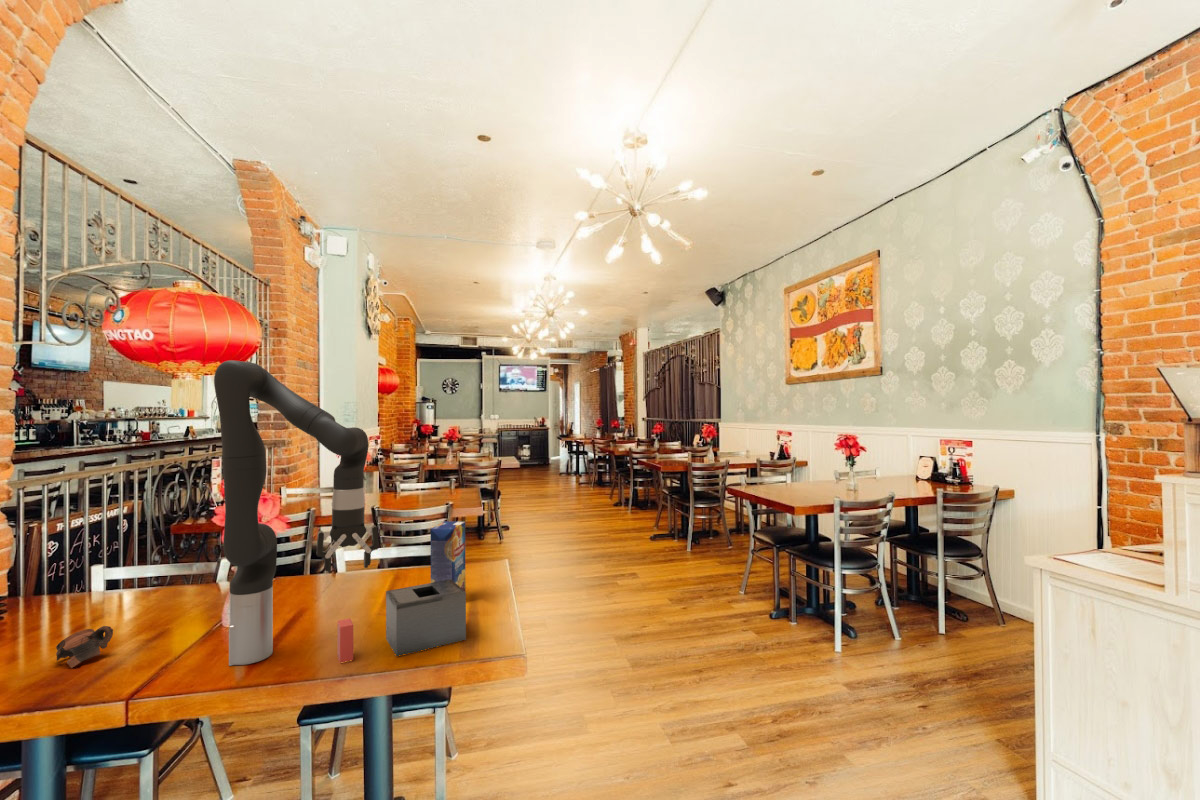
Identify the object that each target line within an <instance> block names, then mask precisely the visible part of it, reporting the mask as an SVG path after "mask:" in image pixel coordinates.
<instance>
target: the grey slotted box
mask: <svg viewBox="0 0 1200 800" xmlns="http://www.w3.org/2000/svg"><path fill="white" fill-rule="evenodd" d="M465 591H466V590H465ZM465 591H464V590H463V589H462V588H461V587H459V586H458V585H457V584H456V583H455V582H454V581H453V580H445V581H439V582H434V583H431V582H429V583H424V584H418V585H411V586H406V587H403V588H402V587H401V588H396V589H391V590H386V591H385V607H386V608H385V619H386V620H385V627H386V628H385V632H386V633H385V639H386V641H387V643H388V645H389V644H390V645H389V646H390V649H391V650H392V649H393V650H392V652H393V651H394V652H393V653H395V654H396V655H395V654H394V655H395V657H396V656H399V655H403V654H408V653H412V654H414V653H413V652H416V653H419V652H418V651H420V652H422V651H421V650H424V651H426V650H425V649H428V648H432V649H434V648H433V647H436V648H438V647H437V646H440V647H442V646H441V645H444V646H446V645H445V644H448V645H451V644H450V643H452V644H455V643H454V642H457V643H459V642H458V641H461V642H463V641H462V640H465V641H467V601H466V600H467V592H465ZM428 650H429V649H428ZM408 655H409V654H408Z"/></svg>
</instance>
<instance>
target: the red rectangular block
mask: <svg viewBox="0 0 1200 800" xmlns="http://www.w3.org/2000/svg"><path fill="white" fill-rule="evenodd" d="M337 660H338V662H339V661H340V662H339V664H340V663H341V662H345V661H350V660H353V661H354V623H353V621H352V619H351V617H349V618H344V619H340V620H337Z"/></svg>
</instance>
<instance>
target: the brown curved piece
mask: <svg viewBox="0 0 1200 800" xmlns="http://www.w3.org/2000/svg"><path fill="white" fill-rule="evenodd" d="M113 634H114V629H113V628H112V627H111V626H109V625H108V626H107V625H103V626H100V627H99V628H97V629H96V630H95V629H92V628H85V629H81V630H79V631H76V632H74V633H72V634H71V635H69V636H67V637H65V638H64V639H62V640H61V641H60V642H58V643H57V645H56V646H55V648H56V649H55V650H56V654H55V655H56V661H57V662H58V661H60V660H61V659H66V658H68V657H69V658H70V659H68V660H67V661H66V664H67V665H68V666H69V667H70V668H71V669H73V667H74V668H75V667H76V666H78V665H80V664H81V663H82V662H84V661H86V660H87V661H88V660H89V659H91V658H93V657H94V658H95V657H97V656H100V655H101V651H100V648H101V649H103V650H104V649H106V648H107V647H108V645H109V644H108V643H109V642H110V641H111V640H112V637H113Z"/></svg>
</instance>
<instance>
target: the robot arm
mask: <svg viewBox="0 0 1200 800" xmlns="http://www.w3.org/2000/svg"><path fill="white" fill-rule="evenodd" d="M213 383H214V385H213V386H214V391H215V396H216V403H217V408H218V414H219V422H220V423H219V424H220V435H221V449H222V450H221V458H222V459H221V460H222V474H223V475H222V476H223V486H224V487H223V488H224V491H223V492H224V506H225V507H224V508H225V509H224V510H225V513H224V514H225V515H224V527H223V528H224V530H223V531H224V532H223V542H222V543H223V554H224V557H225V559H226V560H227V562H229V563H230V564H231V565H233V566H234V567H237V569H236V571H235V573H234V576H233V577H232V579H230V582H229V624H228V626H229V627H228V666H229V667H230V666H231V667H232V666H245V665H251V664H254V663H259V662H261V661H264V660H265V659H267V658H269V657H270V656H271V655H273V652H274V651H273V650H274V649H273V647H274V642H273V641H274V640H273V639H274V637H273V634H274V633H273V632H274V629H273V628H274V626H273V623H274V622H273V621H274V617H273V616H274V612H273V610H274V609H273V608H274V607H273V606H274V604H273V603H274V601H273V599H274V598H273V593H274V592H273V591H274V587H273V585H274V584H273V583H274V577H275V575H276V573H277V572H276V571H277V557H278V555H277V554H278V538H277V535H276V533H275V531H274V529H273V528H272V527H271V526H269V525H268V524H266V523H260V522H259V503H260V499H261V495H262V492H263V489H264V485H265V481H266V478H267V455H266V454H267V453H266V446H265V443H264V441H263V439H262V437H261V435H260V432H259V430H257V429H258V428H256V426H255V424H254V422H253V418H252V416H251V415H252V414H251V407H250V406H251V405H250V403H251V402H250V398H252V399H254V400H258V401H259V402H264V403H265V404H268V405H269V406H270V407H273V408H274V409H276V411H278V412H279V413H280V415H282V416H283V418H284V419H285V420H286V421H287V422H288V423H290V424H291V425H292V426H294V427H295V428H297V429H298V430H301V431H302V432H304V433H305V434H307V435H308V436H311V437H313V438H314V439H315V440H317V441H318V443H320V445H322V446H323V447H324V448H325V449H327V450H328V451H329V452H331V453H333V454H335V455H337V456H340V460H339V464H338V465H337V466H336V467H335V468H334V472H333V483H332V484H333V488H332V490H333V491H332V496H331V497H332V498H331V529H330V530H329V531H328V530H327V531H323V530H318V531H317V537H316V538H317V539H316V550H315V551H316V552H315V554H316V557H319V558H323V559H324V561H323V562H324V563H323V565H324V566H323V568H324V571H325V572H327V574H331V573H332V555H333V554H334V553H335V552H336V551H337V549H338V548H339V547H341V548H346V547H349V546H350V547H355V546H356V545H359V546H360V547H361V548H362V549H363V550H364V552H363V568H364V569H367V568H369V566H370V565H371V563H372V562H371V561H372V560H371V559H372V557H371V555H372V552H373V551H376V550H378V549H379V548H380V547H379V530H378V529H379V528H378V527H377V526H376V525H375V524H373V525H371V526H367V527H366V526H365V506H366V505H365V504H366V503H365V501H366V497H365V489H364V485H365V484H364V483H365V479H364V477H365V474H364V471H365V467H366V463H367V458H368V453H369V438H368V434H367V433H366V432H365V430H364V429H362V428H360V427H356V426H355V427H354V426H352V427H345V426H344V425H342V424H340V423H338V422H337V421H336V418H335V417H334V416H333V414H331V413H329V412H327V410H324V409H322V408H321V407H319V405H318V406H317V405H316V404H314V403H313V402H311V401H308V400H307V399H305V398H304V397H302V396H300V395H299V394H297V393H296V392H294V391H292V389H289V387H287V386H286V385H285V384H283V383H282V382H281V381H279V379H277V378H276V377H275V376H273V375H272V374H271V373H270V372H269V371H268V370H266V369H265V368H264V367H262V366H261V365H259V364H257V363H255V362H251V361H243V360H241V361H240V360H234V359H233V360H232V359H231V360H230V359H229V360H226V361H223V362H221V363H219V365H218V366H217V367H216V370H215V372H214V377H213ZM367 533H368V534H369V536H371V544H370V545H368V543H367V542H365V541H364V540H363V538H364V536H365V535H366V534H367ZM329 536H330V538H331V539H332V540H333V541H332V542H330V545H329V546H328V547H327V549H326V550H324V541H327V538H328V537H329Z"/></svg>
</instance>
